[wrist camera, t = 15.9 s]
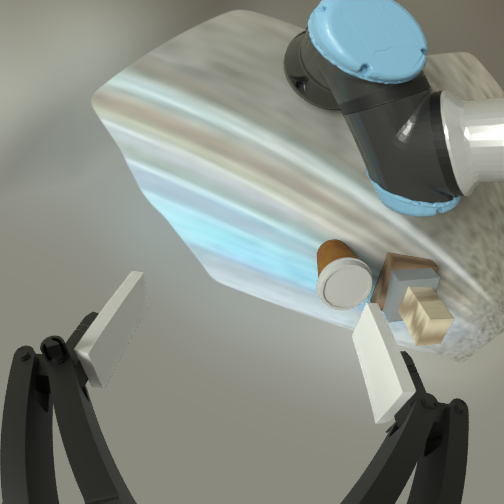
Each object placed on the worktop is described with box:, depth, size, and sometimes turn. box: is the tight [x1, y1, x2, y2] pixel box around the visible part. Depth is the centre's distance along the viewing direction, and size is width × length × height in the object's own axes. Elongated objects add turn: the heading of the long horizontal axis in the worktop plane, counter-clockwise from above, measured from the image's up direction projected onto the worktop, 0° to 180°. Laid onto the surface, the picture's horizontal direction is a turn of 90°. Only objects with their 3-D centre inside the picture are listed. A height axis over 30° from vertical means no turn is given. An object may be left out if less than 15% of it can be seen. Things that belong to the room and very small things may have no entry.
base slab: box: [370, 253, 438, 311], centre depth 52 cm, size 12×12×4 cm
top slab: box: [383, 268, 440, 322], centre depth 49 cm, size 10×10×4 cm
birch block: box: [398, 286, 454, 346], centre depth 42 cm, size 6×6×10 cm
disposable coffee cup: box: [317, 240, 373, 310], centre depth 46 cm, size 10×10×12 cm
